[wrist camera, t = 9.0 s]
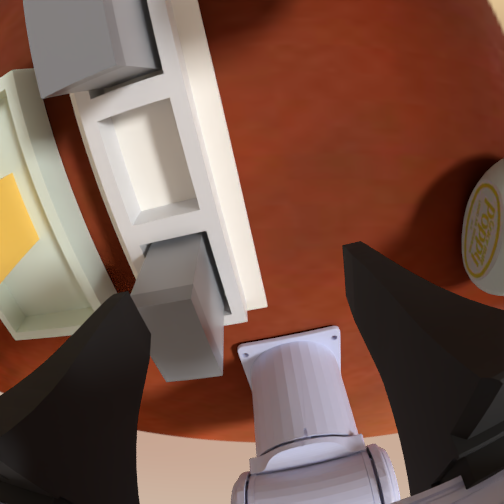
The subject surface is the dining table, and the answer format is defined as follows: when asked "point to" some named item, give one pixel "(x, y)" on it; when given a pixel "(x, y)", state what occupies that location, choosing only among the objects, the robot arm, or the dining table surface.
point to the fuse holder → (173, 157)
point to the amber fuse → (13, 226)
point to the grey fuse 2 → (182, 307)
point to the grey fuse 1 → (89, 43)
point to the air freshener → (485, 232)
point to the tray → (45, 225)
